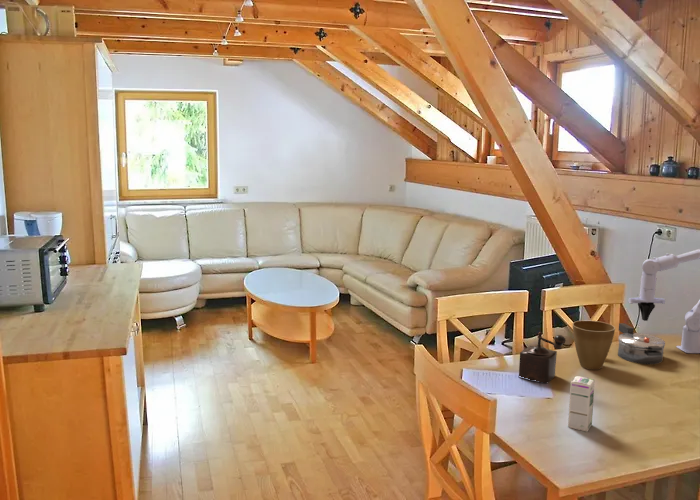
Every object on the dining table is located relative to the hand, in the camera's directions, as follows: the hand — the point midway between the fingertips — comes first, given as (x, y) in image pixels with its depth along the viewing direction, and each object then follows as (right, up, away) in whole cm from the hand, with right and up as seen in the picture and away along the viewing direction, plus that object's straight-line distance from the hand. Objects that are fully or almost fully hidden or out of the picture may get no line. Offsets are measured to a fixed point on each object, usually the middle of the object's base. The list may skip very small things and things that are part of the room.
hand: (644, 320), depth 266 cm
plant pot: (-32, -15, -25) cm, 43 cm away
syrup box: (-54, -24, -75) cm, 96 cm away
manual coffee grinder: (-54, -17, -38) cm, 68 cm away
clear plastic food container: (-8, -13, -14) cm, 21 cm away
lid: (-9, -6, -13) cm, 17 cm away
